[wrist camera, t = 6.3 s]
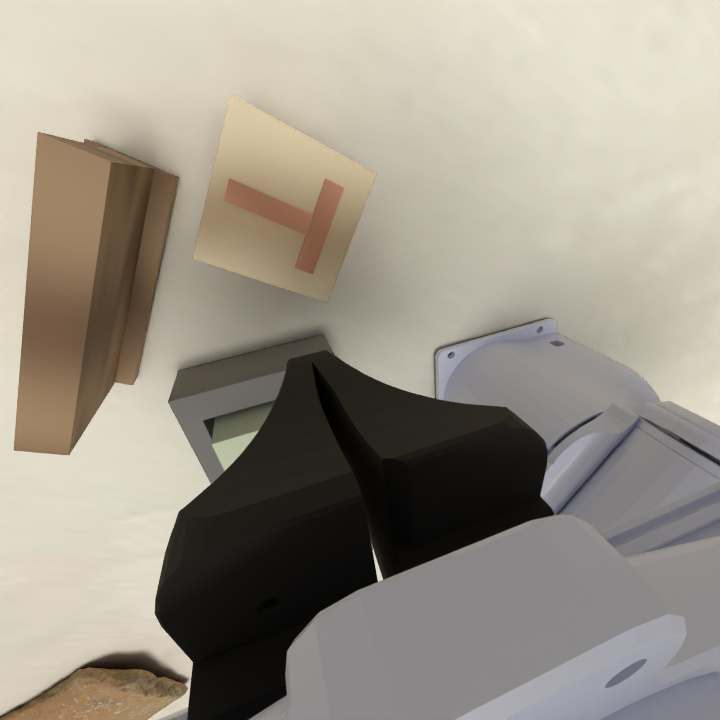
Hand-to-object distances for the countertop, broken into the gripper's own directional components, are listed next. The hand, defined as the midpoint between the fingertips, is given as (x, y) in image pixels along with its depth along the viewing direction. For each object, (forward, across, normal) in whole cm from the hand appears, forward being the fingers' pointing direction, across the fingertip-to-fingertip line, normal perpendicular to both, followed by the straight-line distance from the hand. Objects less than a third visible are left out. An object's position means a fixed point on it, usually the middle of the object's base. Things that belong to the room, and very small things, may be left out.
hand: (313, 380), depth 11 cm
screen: (+8, +7, -3) cm, 11 cm away
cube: (+8, 0, -5) cm, 10 cm away
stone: (+9, +25, +31) cm, 41 cm away
